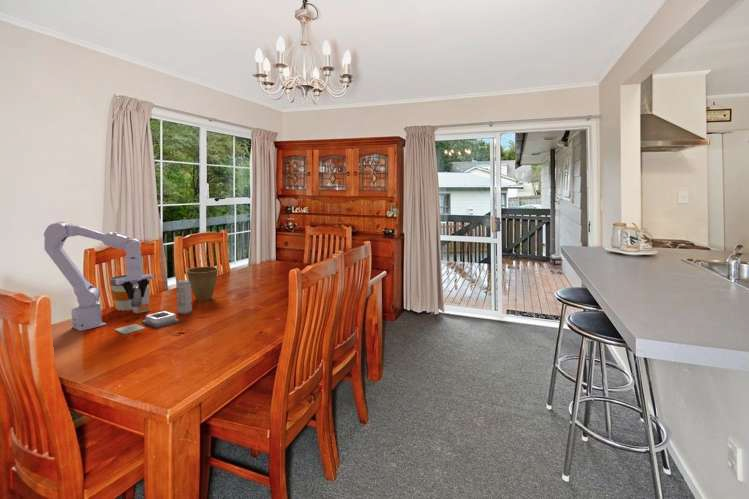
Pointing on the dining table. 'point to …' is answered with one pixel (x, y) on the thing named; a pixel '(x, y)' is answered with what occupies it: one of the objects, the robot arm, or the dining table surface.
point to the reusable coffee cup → (121, 294)
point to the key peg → (136, 297)
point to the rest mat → (129, 329)
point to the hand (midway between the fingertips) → (136, 297)
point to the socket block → (160, 319)
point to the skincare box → (143, 303)
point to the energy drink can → (184, 297)
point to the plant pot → (203, 281)
